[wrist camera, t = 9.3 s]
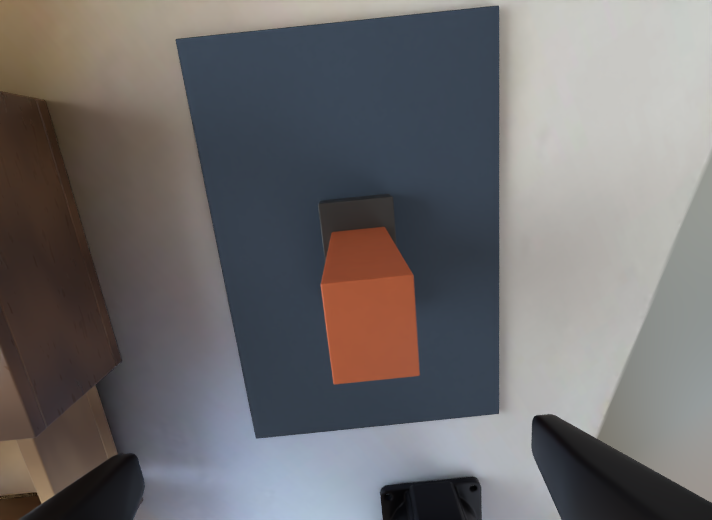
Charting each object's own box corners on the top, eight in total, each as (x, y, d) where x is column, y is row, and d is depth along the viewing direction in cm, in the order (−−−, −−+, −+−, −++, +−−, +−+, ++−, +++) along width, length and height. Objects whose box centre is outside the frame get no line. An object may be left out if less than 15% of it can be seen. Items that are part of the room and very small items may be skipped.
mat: (496, 409, 23) (499, 414, 23) (257, 434, 23) (255, 438, 23) (496, 8, 17) (499, 5, 17) (178, 41, 17) (175, 38, 17)
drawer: (162, 558, 24) (121, 647, 20) (-3, 575, 24) (-82, 668, 20) (82, 301, 20) (5, 342, 15) (-123, 322, 20) (-260, 369, 15)
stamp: (397, 302, 21) (438, 414, 11) (333, 308, 21) (322, 426, 11) (389, 193, 19) (429, 222, 10) (319, 200, 19) (295, 236, 10)
